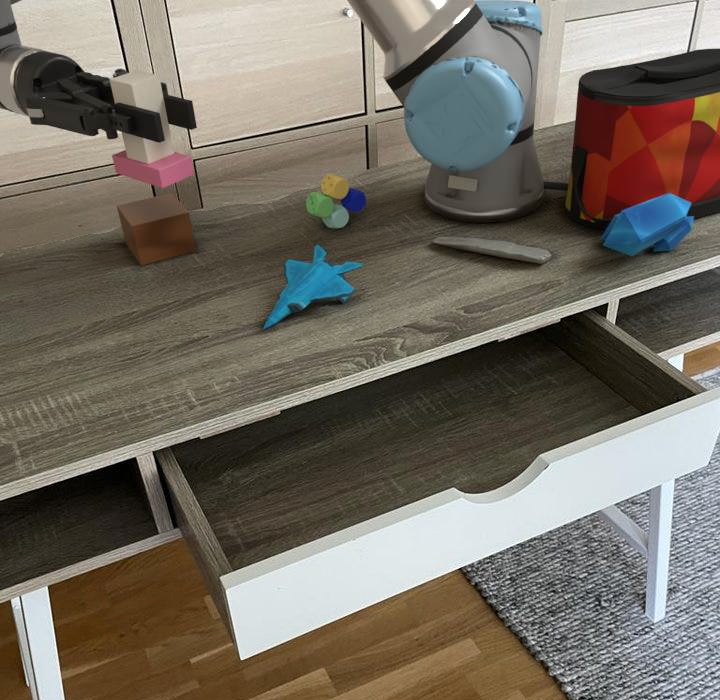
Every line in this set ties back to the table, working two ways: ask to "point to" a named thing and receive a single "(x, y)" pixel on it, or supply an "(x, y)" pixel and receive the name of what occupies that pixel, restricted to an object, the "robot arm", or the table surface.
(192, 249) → the wood block
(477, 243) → the stone tool
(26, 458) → the table surface
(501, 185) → the robot arm
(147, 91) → the block on pink pedestal
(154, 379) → the table surface
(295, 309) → the toy airplane
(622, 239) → the crystal
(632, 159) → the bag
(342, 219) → the dice
